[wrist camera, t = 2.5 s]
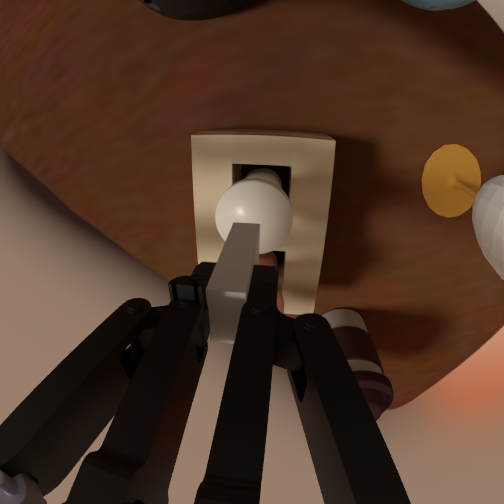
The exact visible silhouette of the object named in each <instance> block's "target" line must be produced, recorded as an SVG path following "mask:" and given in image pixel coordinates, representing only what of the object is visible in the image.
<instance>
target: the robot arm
mask: <svg viewBox="0 0 504 504" xmlns="http://www.w3.org/2000/svg"><path fill="white" fill-rule="evenodd" d="M140 1H141V2H142V3H143V4H144V5H146V6H147V7H148V8H150V9H152V10H154V11H155V12H157V13H159V14H161V15H163V16H166V17H169V18H173V19H178V20H202V19H208V18H213V17H217V16H220V15H223V14H226V13H229V12H231V11H234V10H236V9H238V8H240V7H242V6H243V5H245V4H247V3H248V2H249V1H251V0H140ZM401 1H403V2H405V3H407V4H409V5H412V6H414V7H417V8H420V9H424V10H430V11H437V10H445V9H455V8H459V7H462V6H465V5H467V4H470V3H472V2H474V1H476V0H401ZM259 245H260V224H256V223H238V222H234V223H233V225H232V227H231V230H230V232H229V234H228V237H227V239H226V241H225V244H224V246H223V249H222V251H221V253H220V256H219V258H218V261H217V263H216V262H201V263H200V264H198V265H197V266H196V267H195V269H194V271H193V273H192V275H191V276H181V277H176V278H175V279H173V280H171V281H170V282H169V283H168V286H169V292H170V298H171V302H170V303H169V305H166V306H159V307H151V304H150V302H149V301H148V300H146V299H142V298H133V299H131V300H128V301H126V302H125V303H123V304H122V305H121V306H120V307H119V308H118V309H117V310H115V311H114V312H113V313H112V314H111V315H110V316H109V317H108V318H107V319H106V320H105V321H104V322H103V323H101V324H100V325H99V326H98V327H97V328H96V329H95V330H94V331H93V332H92V333H91V334H90V335H89V336H88V337H87V338H85V339H84V340H83V342H81V343H80V344H79V345H78V346H77V347H76V348H75V349H74V350H73V351H72V352H71V353H70V354H69V355H68V356H67V357H66V358H65V359H64V360H63V361H62V362H61V363H60V364H59V365H58V366H57V367H56V368H55V369H54V370H53V371H52V372H51V373H50V374H49V375H48V376H47V377H46V378H45V379H44V380H43V381H42V382H41V383H40V384H39V385H38V386H37V387H36V388H35V389H34V390H33V391H32V392H31V393H30V394H29V395H28V396H27V397H26V398H25V399H24V400H23V401H22V402H21V404H20V405H19V406H18V407H17V408H16V409H15V410H14V411H13V412H12V413H11V414H10V415H9V416H8V417H7V419H6V420H5V421H4V422H3V423H2V424H1V425H0V504H47V502H46V500H45V499H44V498H43V496H45V495H47V494H48V493H50V492H51V491H52V490H53V489H55V488H56V487H57V486H58V485H59V484H60V483H61V482H62V481H63V480H64V479H65V477H66V476H67V475H68V474H69V472H70V471H71V470H72V469H73V467H74V466H75V465H76V463H77V462H78V461H79V460H80V458H81V457H82V456H83V455H84V453H85V452H86V451H87V449H88V448H89V447H90V446H91V444H92V443H93V442H94V441H95V439H96V438H97V437H98V436H99V434H100V433H101V432H102V431H103V429H104V428H105V427H106V425H107V424H108V423H109V422H110V420H111V419H112V418H113V416H114V415H115V416H114V418H113V421H112V423H111V425H110V427H109V430H108V432H107V434H106V437H105V439H104V441H103V444H102V446H101V447H100V449H99V450H98V451H95V452H91V453H89V454H88V455H86V457H85V458H84V460H83V462H82V464H81V466H80V469H79V471H78V474H77V476H76V478H75V481H74V483H73V486H72V488H71V491H70V494H69V496H68V498H67V501H66V502H64V503H62V504H168V501H169V499H168V488H169V484H170V481H171V477H172V473H173V470H174V466H175V462H176V459H177V455H178V452H179V448H180V444H181V441H182V438H183V434H184V430H185V427H186V423H187V420H188V416H189V413H190V409H191V406H192V402H193V399H194V396H195V392H196V389H197V385H198V382H199V378H200V375H201V371H202V368H203V365H204V361H205V358H206V355H207V351H208V343H207V340H208V337H209V333H210V341H214V342H222V343H232V344H234V346H233V351H232V355H231V360H230V364H229V369H228V373H227V379H226V382H225V387H224V391H223V396H222V401H221V405H220V410H219V415H218V419H217V423H216V428H215V433H214V437H213V441H212V446H211V450H210V455H209V460H208V464H207V468H206V473H205V477H204V479H203V481H202V482H201V484H200V486H199V488H198V490H197V494H196V498H195V502H194V504H259V501H260V491H261V480H262V471H263V463H264V454H265V453H264V452H265V444H266V434H267V424H268V413H269V401H270V391H271V379H272V367H273V365H276V366H279V367H281V368H284V369H287V373H288V377H289V380H290V384H291V387H292V391H293V394H294V398H295V401H296V405H297V408H298V411H299V415H300V419H301V422H302V426H303V429H304V433H305V436H306V440H307V443H308V447H309V450H310V454H311V457H312V461H313V464H314V468H315V472H316V475H317V479H318V482H319V486H320V489H321V493H322V496H323V500H324V503H325V504H411V503H410V500H409V498H408V496H407V493H406V491H405V488H404V486H403V483H402V481H401V478H400V476H399V473H398V471H397V469H396V466H395V464H394V462H393V459H392V457H391V455H390V452H389V450H388V448H387V445H386V443H385V441H384V439H383V436H382V434H381V432H380V429H379V428H378V425H377V423H376V420H375V418H374V416H373V414H372V412H371V409H370V407H369V405H368V403H367V401H366V399H365V396H364V394H363V392H362V390H361V388H360V386H359V383H358V381H357V379H356V377H355V375H354V373H353V371H352V369H351V367H350V364H349V362H348V360H347V358H346V356H345V354H344V352H343V350H342V348H341V346H340V344H339V342H338V340H337V338H336V336H335V334H334V332H333V330H332V328H331V325H330V323H329V322H328V321H327V319H326V318H324V317H323V316H321V315H318V314H315V313H305V314H301V315H300V316H298V317H297V318H296V319H294V318H290V317H288V316H285V315H284V314H282V313H281V312H280V311H279V309H278V308H277V292H278V275H279V272H278V270H277V269H276V267H275V266H269V265H259ZM128 345H130V346H129V347H128V348H127V346H128ZM126 348H127V349H126Z"/></svg>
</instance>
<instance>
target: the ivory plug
mask: <svg viewBox="0 0 504 504" xmlns="http://www.w3.org/2000/svg"><path fill="white" fill-rule="evenodd" d="M215 221H216V226H217V229H218V232H219V233H220V235H221V237H222V238H223V239H224V241H226V239H227V237H228V234H229V232H230V230H231V227H232V225H233V223H234V222H238V223H256V224H260V245H259V254H264V253H268V252H271V251H273V250H275V249H277V248H278V247H279V246H281V245H282V244H283V243H284V242H285V241H286V239H287V238H288V236H289V234H290V232H291V229H292V224H293V214H292V206H291V202H290V200H289V198H288V196H287V195H286V193H285V192H284V191H283V190H282V182H281V179H280V177H279V176H278V175H277V174H276V173H275V172H274V171H272V170H270V169H267V168H257V169H254V170H252V171H251V172H249V173H248V174H247V176H246V177H245V179H243V180H240V181H238V182H236V183H234V184H233V185H232V186H230V187H229V188H228V189H227V190H226V192H225V193H224V194H223V196H222V197H221V199H220V201H219V203H218V205H217V208H216V213H215Z"/></svg>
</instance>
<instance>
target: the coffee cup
mask: <svg viewBox="0 0 504 504" xmlns="http://www.w3.org/2000/svg"><path fill="white" fill-rule="evenodd" d="M322 316H323V317H324V318H326V319H327V321H328V322H329V323H330V325H331V328H332V330H333V332H334V334H335V336H336V338H337V340H338V342H339V344H340V346H341V348H342V350H343V352H344V354H345V356H346V358H347V360H348V362H349V364H350V367H351V369H352V371H353V373H354V375H355V377H356V379H357V381H358V383H359V386H360V388H361V390H362V392H363V394H364V396H365V399H366V401H367V403H368V405H369V407H370V409H371V412H372V414H373V416H374V418H375V420H377V419H379V417H380V416H381V414H382V413H383V412H384V411H385V410H386V409H387V408H388V407H389V406H390V405H391V403H392V401H393V397H394V393H393V389H392V385H391V382H390V381H389V379H388V378H387V377H386V376H384V373H383V368H382V365H381V362H380V359H379V357H378V354H377V351H376V348H375V345H374V343H373V340H372V338H371V336H370V335H369V333H368V331H367V329H366V326H365V323H364V321H363V319H362V317H361V316H360V315H359V314H358V313H357V312H355V311H353V310H350V309H335V310H331V311H328V312H326V313H325V314H323V315H322Z"/></svg>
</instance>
